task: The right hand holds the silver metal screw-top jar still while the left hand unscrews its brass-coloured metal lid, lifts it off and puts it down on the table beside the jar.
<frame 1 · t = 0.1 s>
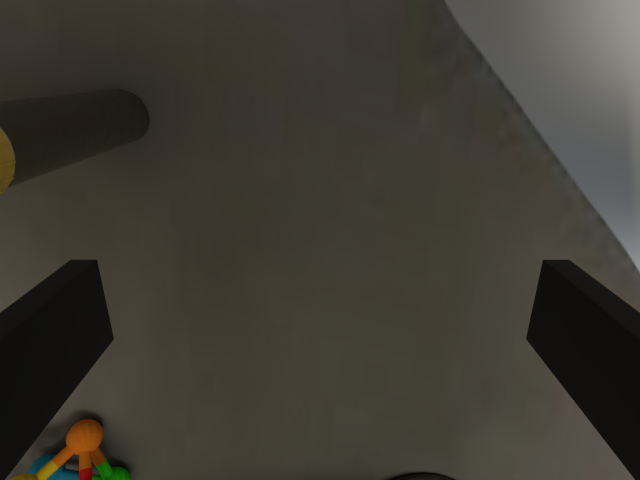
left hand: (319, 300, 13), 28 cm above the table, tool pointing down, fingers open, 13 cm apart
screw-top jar: (124, 116, 38), on the table
molecular model: (86, 455, 53), on the table
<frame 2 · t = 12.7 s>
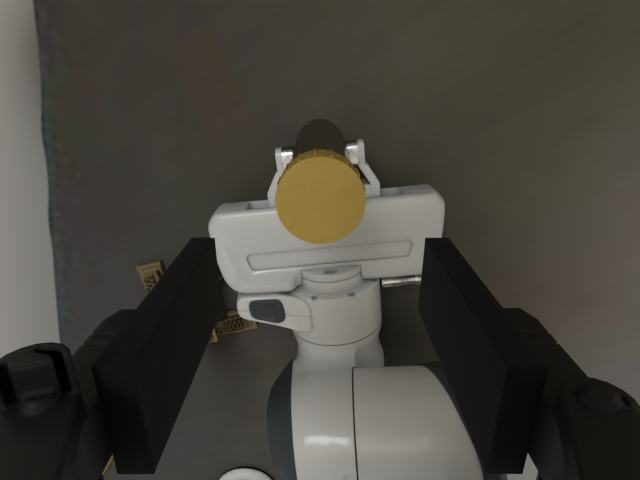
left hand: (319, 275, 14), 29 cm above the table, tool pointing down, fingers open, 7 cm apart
right hand: (318, 144, 35), fingers closed on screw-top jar, 4 cm apart
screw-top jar: (320, 142, 41), on the table, touching right hand
lid: (320, 200, 23), point 20 cm above the table, screwed on, not yet turned
eiffel tower: (199, 296, 47), on the table
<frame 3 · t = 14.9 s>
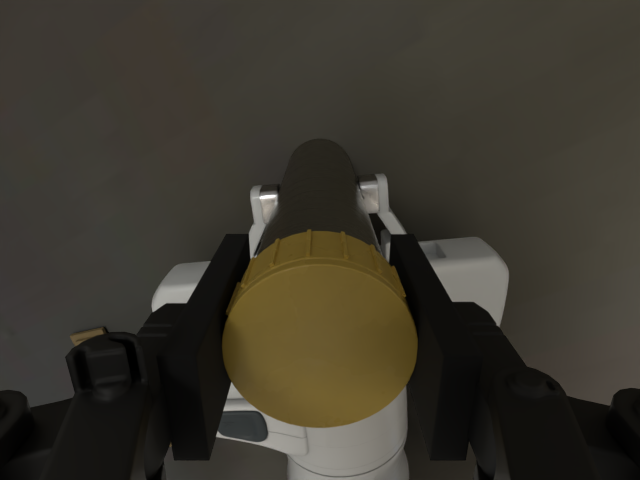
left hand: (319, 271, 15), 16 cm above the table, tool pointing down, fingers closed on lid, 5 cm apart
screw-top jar: (319, 171, 29), on the table, touching right hand
lid: (319, 345, 11), point 20 cm above the table, screwed on, not yet turned, touching left hand
eiffel tower: (159, 371, 36), on the table
when the left hand's fingers open (16 cm above the table, at t = 16.2 s): lid stays where it is, point 20 cm above the table.
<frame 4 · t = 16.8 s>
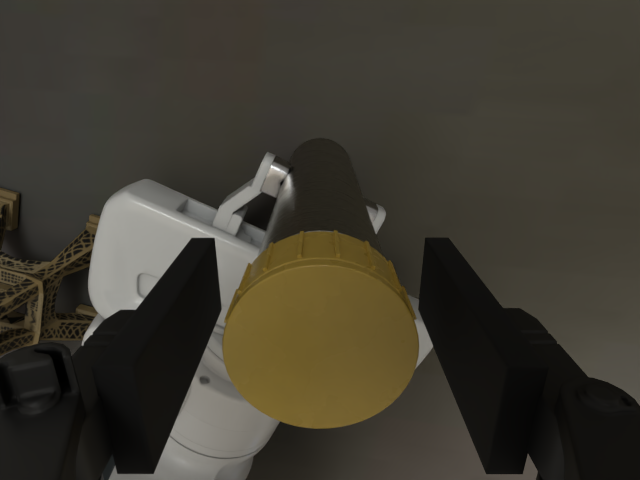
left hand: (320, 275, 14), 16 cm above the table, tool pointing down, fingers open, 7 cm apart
right hand: (326, 181, 23), fingers closed on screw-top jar, 4 cm apart
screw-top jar: (320, 170, 29), on the table, touching right hand
lid: (320, 345, 11), point 20 cm above the table, turned 79° so far, risen 0.3 cm, still on its thread
eiffel tower: (51, 266, 32), on the table
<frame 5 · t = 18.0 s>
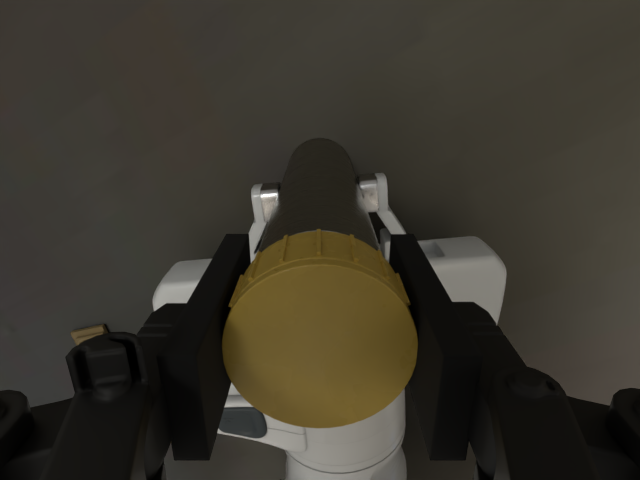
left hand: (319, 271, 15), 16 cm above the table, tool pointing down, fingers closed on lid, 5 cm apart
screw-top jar: (319, 170, 29), on the table, touching right hand
lid: (319, 345, 11), point 20 cm above the table, turned 79° so far, risen 0.3 cm, still on its thread, touching left hand
eiffel tower: (158, 368, 36), on the table
when the left hand's fingers open (0 cm above the table, at t = 24.8 s): lid drops 3 cm, point 2 cm above the table.
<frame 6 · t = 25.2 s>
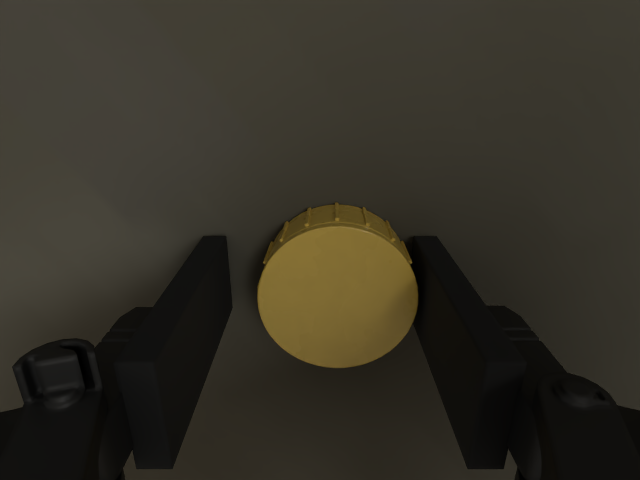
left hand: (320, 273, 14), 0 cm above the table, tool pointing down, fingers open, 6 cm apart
lid: (337, 296, 13), point 2 cm above the table, off its thread
when the right hand's fingers open (7 cm above the table, at t = 26.0 s): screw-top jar stays where it is, on the table.
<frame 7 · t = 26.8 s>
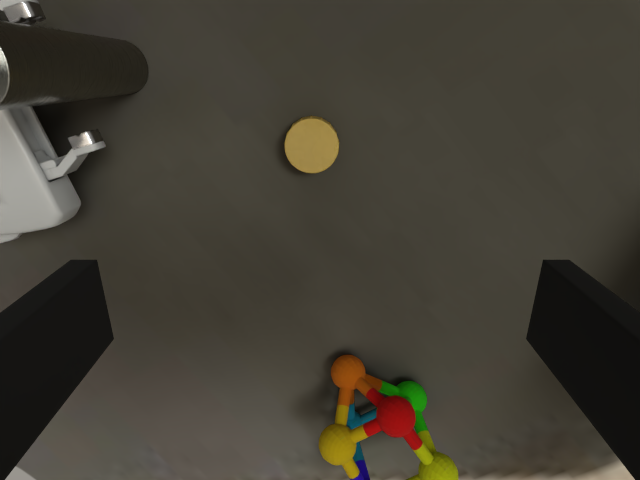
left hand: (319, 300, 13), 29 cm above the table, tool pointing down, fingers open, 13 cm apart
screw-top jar: (122, 67, 37), on the table
lid: (311, 145, 38), point 2 cm above the table, off its thread
molecular model: (368, 394, 50), on the table
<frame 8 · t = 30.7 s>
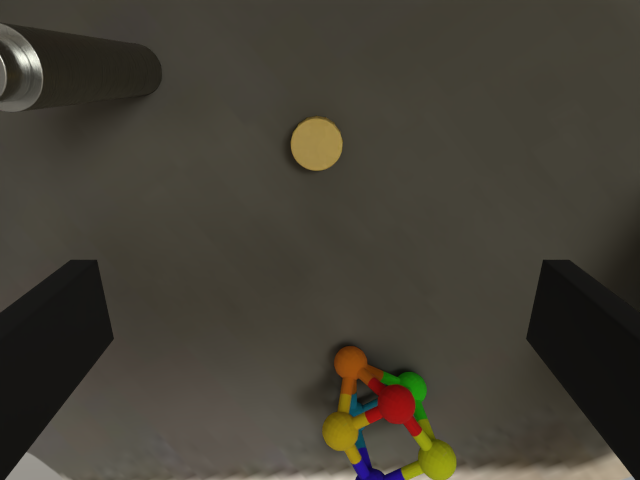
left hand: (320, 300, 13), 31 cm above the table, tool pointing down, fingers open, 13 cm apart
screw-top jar: (137, 70, 39), on the table
lid: (316, 144, 39), point 2 cm above the table, off its thread
molecular model: (370, 385, 52), on the table
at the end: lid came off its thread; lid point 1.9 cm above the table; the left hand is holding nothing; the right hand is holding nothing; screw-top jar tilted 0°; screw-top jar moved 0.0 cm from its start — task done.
